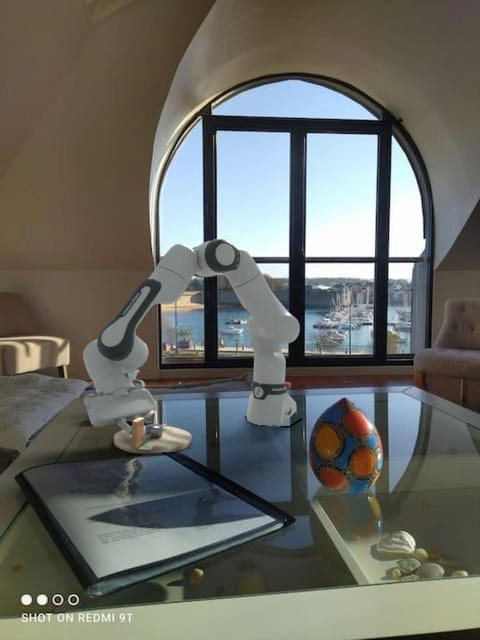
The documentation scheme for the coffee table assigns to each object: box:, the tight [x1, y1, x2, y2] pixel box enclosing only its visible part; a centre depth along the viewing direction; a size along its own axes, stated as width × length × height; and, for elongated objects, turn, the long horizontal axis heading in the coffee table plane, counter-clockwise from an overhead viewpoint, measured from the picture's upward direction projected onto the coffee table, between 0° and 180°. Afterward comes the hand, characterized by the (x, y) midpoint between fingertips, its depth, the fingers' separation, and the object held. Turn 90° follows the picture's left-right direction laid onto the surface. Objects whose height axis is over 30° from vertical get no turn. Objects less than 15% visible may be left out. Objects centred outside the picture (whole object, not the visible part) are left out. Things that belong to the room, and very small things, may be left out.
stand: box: [113, 425, 193, 455], centre depth 130 cm, size 22×22×2 cm
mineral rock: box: [128, 414, 154, 425], centre depth 151 cm, size 15×8×4 cm, turn 18°
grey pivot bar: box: [131, 418, 168, 448], centre depth 128 cm, size 21×5×7 cm, turn 167°
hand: (134, 432), depth 122 cm, fingers closed
